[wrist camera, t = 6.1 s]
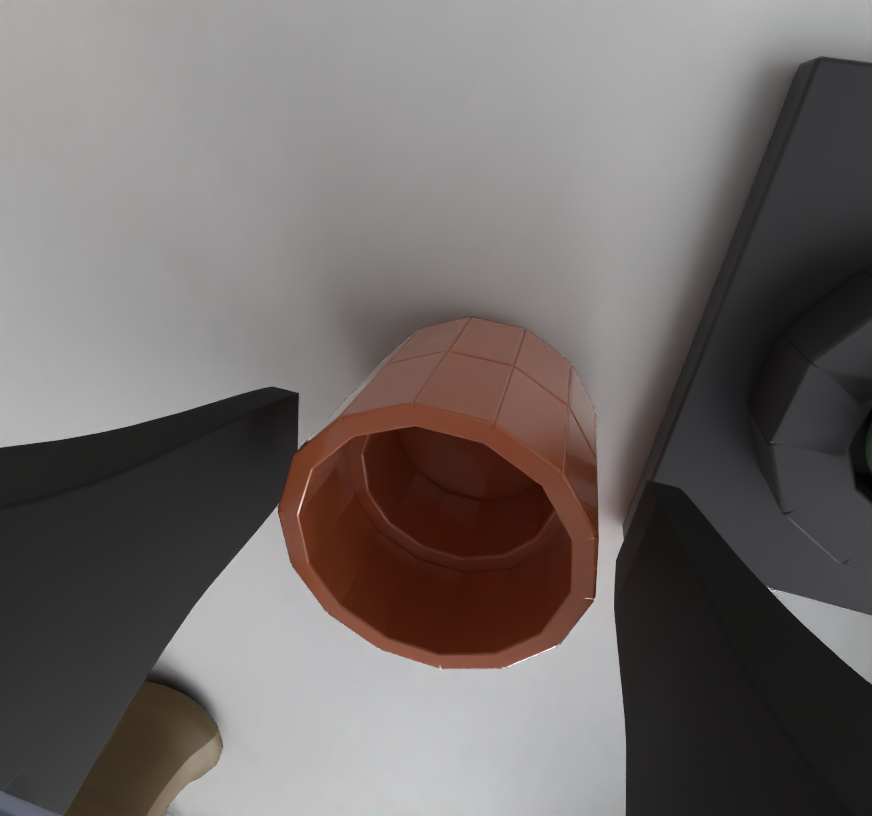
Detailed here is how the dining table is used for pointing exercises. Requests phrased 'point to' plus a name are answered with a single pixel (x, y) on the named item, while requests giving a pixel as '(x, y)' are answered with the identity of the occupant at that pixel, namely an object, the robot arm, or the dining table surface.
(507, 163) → the dining table surface
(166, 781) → the kendama
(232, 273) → the dining table surface
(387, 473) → the terracotta flower pot
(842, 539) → the pad
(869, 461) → the tare button
